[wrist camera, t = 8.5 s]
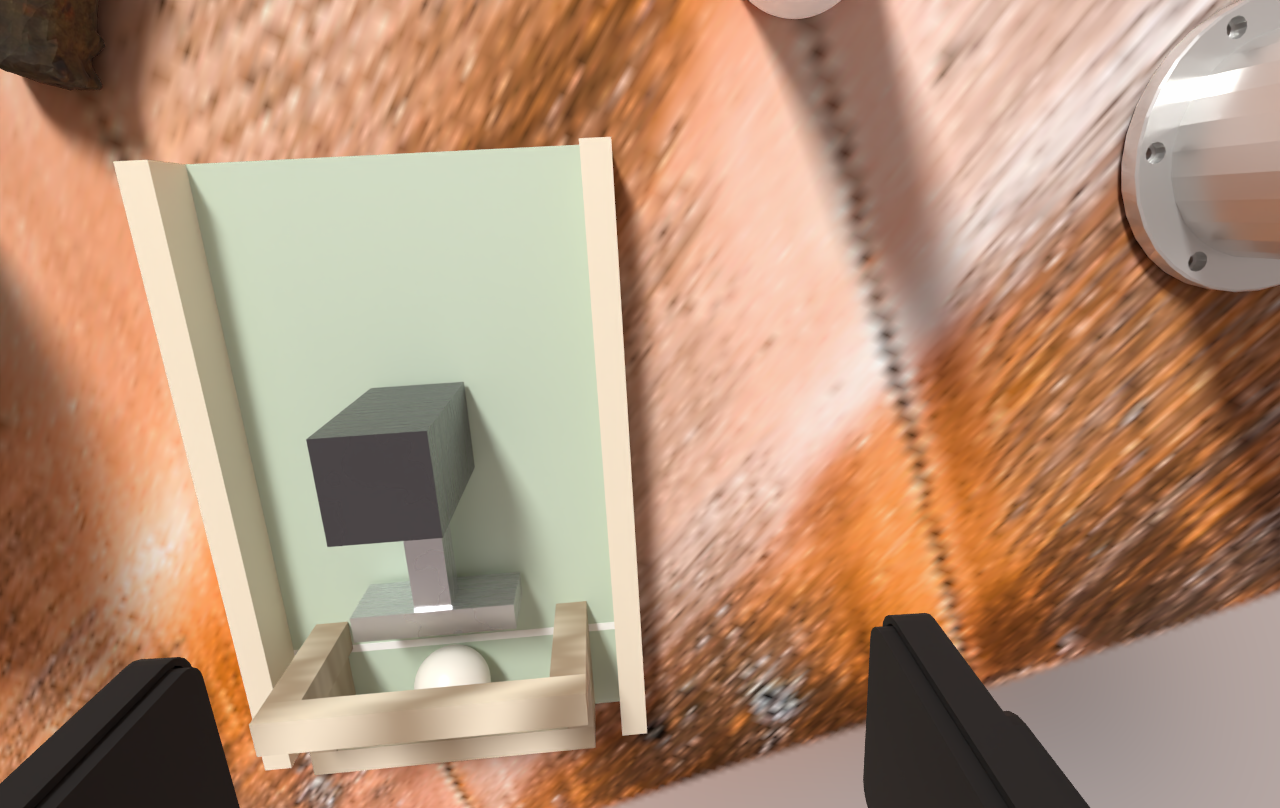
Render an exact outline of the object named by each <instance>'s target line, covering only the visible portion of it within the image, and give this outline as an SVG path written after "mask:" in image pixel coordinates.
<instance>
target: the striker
mask: <svg viewBox="0 0 1280 808" xmlns="http://www.w3.org/2000/svg"><path fill="white" fill-rule="evenodd" d="M306 442H307V447H308V452H309V457H310V462H311V467H312V472H313V477H314V482H315V487H316V492H317V497H318V502H319V507H320V512H321V517H322V522H323V528H324V533H325V538H326V543H327V547H336V546H348V545H361V544H373V543H386V542H398V541H403V543H404V549H405V555H406V561H407V568H408V574H409V580H410V581H406V582H394V583H382V584H370V585H369V587H368V589H367V590H366V592H365V594H364V595H363V597H362V599H361V600H360V602H359V604H358V605H357V607H356V609H355V611H354V612H353V614H352V616H351V617H350V623H351V628H352V633H353V638H354V643H357V642H369V641H380V640H392V639H403V638H414V637H426V636H437V635H449V634H460V633H471V632H483V631H494V630H505V629H516V628H517V622H518V617H519V611H520V605H521V600H522V586H521V577H520V572H514V573H502V574H490V575H478V576H466V577H457V573H456V566H455V559H454V552H453V545H452V538H451V531H450V524H449V523H450V521H451V518H452V516H453V514H454V512H455V510H456V507H457V505H458V503H459V501H460V499H461V497H462V494H463V492H464V490H465V488H466V486H467V483H468V481H469V479H470V477H471V475H472V472H473V470H474V468H475V465H474V457H473V449H472V441H471V433H470V426H469V418H468V410H467V402H466V394H465V386H464V382H453V383H438V384H424V385H409V386H394V387H379V388H370V389H369V390H368V391H367V392H365V393H364V394H363V395H362V396H360V397H359V398H358V399H356V400H355V401H354V402H353V403H351V404H350V405H349V406H348V407H346V408H345V409H344V410H343V411H341V412H340V413H339V414H337V415H336V416H335V417H334V418H332V419H331V420H330V421H329V422H327V423H326V424H325V425H324V426H322V427H321V428H320V429H319V430H317V431H316V432H315V433H313V434H312V435H311V436H310V437H308V438H307V439H306Z"/></svg>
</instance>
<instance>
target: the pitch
mask: <svg viewBox="0 0 1280 808" xmlns="http://www.w3.org/2000/svg"><path fill="white" fill-rule="evenodd" d="M113 163H114V167H115V171H116V175H117V179H118V183H119V187H120V191H121V195H122V199H123V203H124V207H125V211H126V215H127V219H128V223H129V227H130V231H131V235H132V239H133V243H134V247H135V251H136V255H137V259H138V263H139V267H140V271H141V275H142V279H143V283H144V287H145V291H146V295H147V299H148V303H149V307H150V311H151V315H152V319H153V323H154V327H155V331H156V335H157V339H158V343H159V347H160V351H161V355H162V359H163V363H164V367H165V371H166V375H167V379H168V383H169V387H170V391H171V395H172V399H173V403H174V407H175V411H176V415H177V419H178V423H179V427H180V431H181V435H182V439H183V443H184V447H185V451H186V455H187V459H188V463H189V467H190V471H191V475H192V479H193V483H194V487H195V491H196V495H197V499H198V503H199V507H200V511H201V515H202V519H203V523H204V527H205V531H206V535H207V539H208V543H209V547H210V551H211V555H212V559H213V563H214V567H215V571H216V575H217V579H218V583H219V587H220V591H221V595H222V599H223V603H224V607H225V611H226V615H227V619H228V623H229V627H230V631H231V635H232V639H233V643H234V647H235V651H236V655H237V659H238V663H239V667H240V671H241V675H242V679H243V683H244V687H245V691H246V695H247V699H248V703H249V707H250V711H251V715H252V719H253V718H254V717H255V715H256V714H257V712H258V711H259V709H260V708H261V706H262V705H263V703H264V702H265V700H266V699H267V697H268V696H269V694H270V693H271V691H272V690H273V688H274V687H275V685H276V684H277V682H278V681H279V679H280V678H281V676H282V675H283V673H284V672H285V670H286V669H287V667H288V666H289V664H290V663H291V661H292V660H293V658H294V657H295V655H296V654H297V652H298V651H299V649H300V648H301V646H302V645H303V643H304V642H305V640H306V639H307V637H308V636H309V634H310V633H311V631H312V630H313V628H314V627H315V625H316V624H326V623H338V622H348V624H349V629H350V635H351V640H352V646H353V650H352V652H351V653H350V655H349V662H350V667H351V672H352V677H353V682H354V687H355V692H356V695H362V694H372V693H383V692H394V691H405V690H414V682H415V677H416V674H417V671H418V669H419V667H420V666H421V664H422V663H423V661H424V660H425V659H426V658H427V657H428V656H429V655H430V654H431V653H432V652H434V651H435V650H437V649H439V648H441V647H444V646H447V645H453V644H460V645H465V646H469V647H471V648H473V649H475V650H476V651H477V652H479V653H480V654H481V655H482V656H483V658H484V659H485V661H486V663H487V665H488V667H489V670H490V676H491V683H492V682H503V681H514V680H525V679H536V678H546V677H550V665H551V654H552V642H553V631H554V619H555V608H556V604H558V603H570V602H582V601H586V602H587V613H588V625H589V637H590V649H591V661H592V672H593V684H594V696H595V704H597V703H608V702H618V701H620V709H621V722H622V736H623V735H634V734H644V733H647V722H646V705H645V689H644V672H643V656H642V639H641V623H640V606H639V590H638V573H637V557H636V540H635V524H634V508H633V491H632V475H631V458H630V442H629V425H628V409H627V392H626V376H625V359H624V343H623V326H622V310H621V293H620V277H619V261H618V244H617V228H616V211H615V195H614V178H613V162H612V145H611V137H600V138H579V145H567V146H547V147H527V148H507V149H487V150H467V151H447V152H427V153H407V154H386V155H366V156H346V157H326V158H306V159H286V160H266V161H246V162H226V163H206V164H186V165H185V164H177V163H169V162H161V161H153V160H133V161H113ZM453 382H464V386H465V394H466V402H467V410H468V418H469V426H470V433H471V441H472V449H473V457H474V465H475V468H474V470H473V472H472V475H471V477H470V479H469V481H468V483H467V486H466V488H465V490H464V492H463V494H462V497H461V499H460V501H459V503H458V505H457V507H456V510H455V512H454V514H453V516H452V518H451V521H450V523H449V524H450V531H451V538H452V545H453V552H454V559H455V566H456V573H457V577H466V576H478V575H490V574H502V573H514V572H520V577H521V586H522V600H521V605H520V611H519V617H518V622H517V628H516V629H505V630H494V631H483V632H471V633H460V634H449V635H437V636H426V637H414V638H403V639H392V640H380V641H369V642H357V643H354V638H353V633H352V628H351V623H350V617H351V616H352V614H353V612H354V611H355V609H356V607H357V605H358V604H359V602H360V600H361V599H362V597H363V595H364V594H365V592H366V590H367V589H368V587H369V585H370V584H382V583H394V582H406V581H410V580H409V574H408V568H407V561H406V555H405V549H404V543H403V541H398V542H386V543H373V544H361V545H348V546H336V547H327V543H326V538H325V533H324V528H323V522H322V517H321V512H320V507H319V502H318V497H317V492H316V487H315V482H314V477H313V472H312V467H311V462H310V457H309V452H308V447H307V442H306V439H307V438H308V437H310V436H311V435H312V434H313V433H315V432H316V431H317V430H319V429H320V428H321V427H322V426H324V425H325V424H326V423H327V422H329V421H330V420H331V419H332V418H334V417H335V416H336V415H337V414H339V413H340V412H341V411H343V410H344V409H345V408H346V407H348V406H349V405H350V404H351V403H353V402H354V401H355V400H356V399H358V398H359V397H360V396H362V395H363V394H364V393H365V392H367V391H368V390H369V389H370V388H379V387H394V386H409V385H424V384H438V383H453ZM298 755H299V753H292V754H282V755H271V756H262V759H263V763H264V767H265V770H273V769H284V768H292V766H293V764H294V762H295V760H296V759H297V757H298Z"/></svg>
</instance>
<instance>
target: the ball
mask: <svg viewBox="0 0 1280 808" xmlns="http://www.w3.org/2000/svg"><path fill="white" fill-rule="evenodd" d="M481 683H491V676H490V670H489V667H488V665H487V663H486V661H485V659H484V658H483V656H482V655H481V654H480V653H479V652H477V651H476V650H475V649H473V648H471V647H469V646H465V645H460V644H453V645H447V646H444V647H441V648H439V649H437V650H435V651H434V652H432V653H431V654H430V655H429V656H428V657H427V658H426V659H425V660H424V661H423V663H422V664H421V666H420V667H419V669H418V671H417V674H416V677H415V682H414V690H416V689H427V688H438V687H449V686H459V685H470V684H481Z"/></svg>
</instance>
